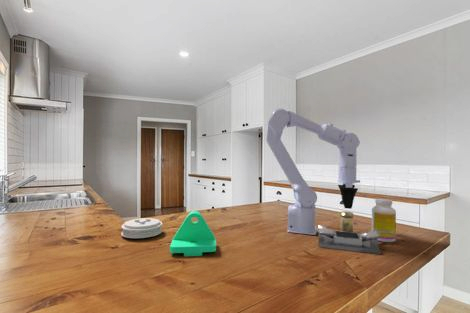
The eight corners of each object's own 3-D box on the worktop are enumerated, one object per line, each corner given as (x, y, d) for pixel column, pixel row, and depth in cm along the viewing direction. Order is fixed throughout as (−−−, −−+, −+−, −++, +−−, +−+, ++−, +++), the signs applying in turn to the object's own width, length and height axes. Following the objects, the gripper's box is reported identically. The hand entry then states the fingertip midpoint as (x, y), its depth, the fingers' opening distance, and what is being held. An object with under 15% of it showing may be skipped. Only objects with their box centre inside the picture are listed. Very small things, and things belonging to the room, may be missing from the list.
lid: (123, 231, 88) (123, 216, 88) (161, 228, 92) (161, 214, 92) (118, 243, 76) (119, 226, 76) (162, 239, 79) (163, 223, 80)
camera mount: (169, 257, 65) (170, 217, 65) (173, 247, 73) (173, 211, 73) (216, 255, 66) (216, 216, 67) (215, 245, 74) (215, 210, 74)
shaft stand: (315, 246, 74) (315, 228, 74) (316, 236, 83) (316, 220, 83) (383, 254, 68) (383, 234, 68) (376, 243, 77) (376, 225, 77)
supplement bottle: (399, 243, 77) (399, 201, 77) (375, 242, 79) (376, 200, 79) (390, 237, 84) (390, 198, 84) (368, 235, 85) (369, 197, 85)
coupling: (340, 233, 87) (340, 213, 87) (339, 230, 91) (340, 210, 91) (354, 234, 86) (354, 214, 86) (352, 231, 90) (352, 211, 90)
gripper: (363, 168, 80) (362, 211, 80) (357, 167, 94) (357, 203, 94) (339, 167, 83) (338, 209, 83) (337, 166, 96) (336, 202, 96)
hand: (347, 206), depth 89 cm, fingers open, 7 cm apart
